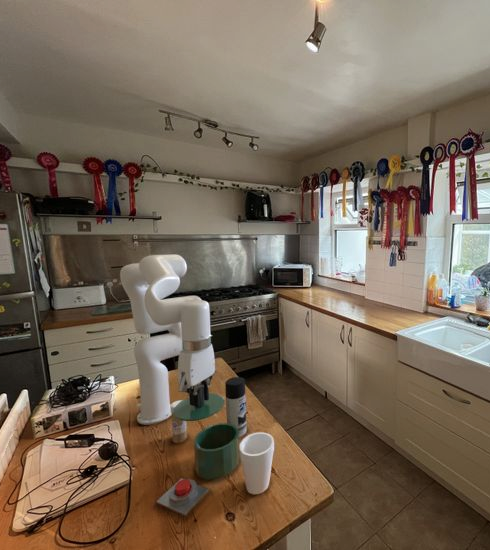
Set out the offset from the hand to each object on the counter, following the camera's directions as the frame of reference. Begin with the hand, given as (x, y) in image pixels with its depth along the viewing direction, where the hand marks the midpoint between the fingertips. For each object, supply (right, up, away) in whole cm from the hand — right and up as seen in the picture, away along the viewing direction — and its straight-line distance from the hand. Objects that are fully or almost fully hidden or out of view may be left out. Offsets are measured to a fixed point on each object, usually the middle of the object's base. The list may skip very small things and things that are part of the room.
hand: (199, 401), depth 86 cm
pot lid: (0, -2, 0) cm, 2 cm away
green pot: (+4, -21, +4) cm, 22 cm away
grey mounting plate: (0, -23, -8) cm, 24 cm away
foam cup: (+18, -23, -3) cm, 29 cm away
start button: (0, -20, -9) cm, 22 cm away
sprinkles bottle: (-13, -20, +14) cm, 28 cm away
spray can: (+5, -19, +18) cm, 27 cm away
